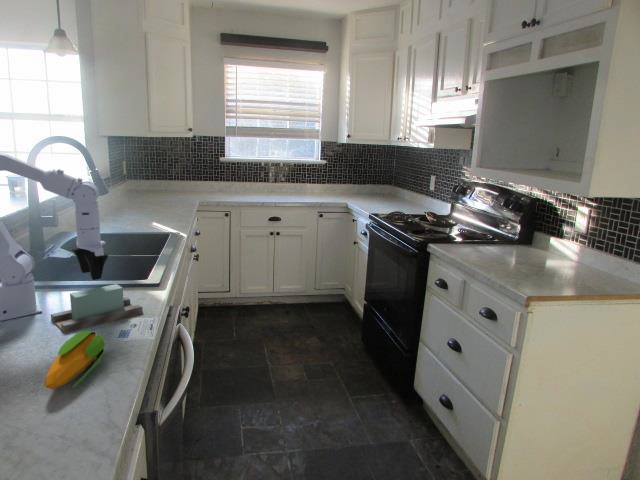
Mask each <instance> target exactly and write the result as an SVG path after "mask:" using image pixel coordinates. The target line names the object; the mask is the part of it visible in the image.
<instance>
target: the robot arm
mask: <svg viewBox="0 0 640 480" xmlns="http://www.w3.org/2000/svg"><path fill="white" fill-rule="evenodd" d="M1 171H3V172H4V171H6V172H9V173H12V174H15V175H18V176H19V177H24V178H26V179H28V180H32V181H35V182H37V183H40V185H41V186H42V188H43V189H44V191H48V192H49V193H53V194H55V195H57V196H60V197H63V198H66V199H67V200H72V202H73V203H74V204H75V205H74V206H75V211H74V213H75V214H74V215H75V216H74V217H75V226H76V227H75V228H76V230H75V231H76V239H75V241H76V247H73V248H72V252H73V253H74V255H75V256H76V258H77V262H78V265H79V267H80V268H79V269H80V270H81V272H82V274H85V273H90V276H91V279H92V281H95V280H100V279H102V276H103V272H104V267H105V264H106V261H107V259H108V258H109V254H108V253H106V252H104V248H103V246H104V245H106V241H104V240H101V225H100V224H101V221H100V211H99V204H98V203H99V202H98V201H97V200H98V198H99V196H100V190H99V187H98V186H96V184H94V183H92V182H91V181H85V180H84V179H83V178H80V177H78V178H76V177H73V176H71V175H68V174H66V173H65V171H64V170H62V169H60V168H58V169H57V170H56V169H49V170H43V169H41V168H39V167H37V166H34V165H32V164H29V163H28V162H25V161H23V160H21V159H19V158H16V157H14V156H12V155H10V154H7V153H5V152H3V151H0V172H1ZM83 180H84V181H83ZM35 265H36V264H35V259H34V257H33V256H32V255H31V254H29V253H27V252H26V251H25V250H24V248H23V246H21V245H20V244H18V243H17V242H15V240H14V238H13V236H11V234H10V232H9V231H8V228H7V227H6V226H5V224H4V223H3V221H2V219H1V218H0V321H7V320H11V319H16V318H21V317H24V316H29V315H31V316H32V315H34V314H35V315H36V314H39V313H42V312H43V310H42V309H41V307H39V306H38V305H37V296H36V289H35V288H36V287H35V279H34V278H35V277H34V275H33V273H32V270H33V271H34V268H35Z"/></svg>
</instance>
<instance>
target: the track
mask: <svg viewBox="0 0 640 480" xmlns="http://www.w3.org/2000/svg"><path fill="white" fill-rule="evenodd" d="M123 301H124V308H123V309H119V310H115V311H111V312H106V313H102V314H98V315H94V316H90V317H85V318H81V319H77V320H73V319H72V312H71V309H69V310H64V311H60V312H56V313H51V314H50V318H51V319H50V321H51V322H52V323H53V324H54V325H55V326H56V327H57V328H59V329H60V330H61V331H62V332H63V333H64V334H65V333H70V332H74V331H78V330H82V329H85V328H89V327H90V328H91V327H93V326H97V325H101V324H105V323H110V322H113V321H117V320H120V319H124V318H128V317H132V316H137V315H139V314H141V315H142V314H143V313H144V311H143V306H142V305H140V304H137V305H133V304H132V303H131V299H130V298H129V297H123Z"/></svg>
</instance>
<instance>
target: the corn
mask: <svg viewBox="0 0 640 480" xmlns="http://www.w3.org/2000/svg"><path fill="white" fill-rule="evenodd" d="M105 347H106V342H105V339H104V338H103V336H102V335H101V334H100V333H99V332H97V334H96V332H95V331H91V330H82V331H79V332H77V333H76V334H74V335H73V336H71V338H69V339H67V340H65V342H64V343H63V344H62V345H61V347H60V348H59V350H58V353H57V357H56V358H55V360H54V361H53V362H52V364H51V365H50V367H49V369H48V372H47V374H46V376H45V380H44V387H45V388H47V389H49V390H55V389H57V388H59V387H61V386H65V385H66V384H68V383H69V382H71V381H72V380H73V379H75V378H76V377H77V376H78V375H80V374H81V373H82V372H83V371H84V370H86V368H88V367H89V365H90V364H92V362H94V363H93V364H92V366H91V367H90V368H89V369H88V370H87V371H86V373H84V374H83V376H81V378H79V379H78V380H77V381H76V382H75V383H74V384H73V386H72V387H71V390H72V389H73V388H74V387H76V386H77V385H78V384H79V383H81V382H82V381H83V380H84V379H85V378H86V377H87V376H88V375H89V374H90V373H91V372H92V371H93V370H94V368H96V366H97V365H98V364H99V363H101V360H102V357H103V354H104V352H105V351H104V350H105V349H104V348H105Z"/></svg>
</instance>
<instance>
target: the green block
mask: <svg viewBox="0 0 640 480" xmlns="http://www.w3.org/2000/svg"><path fill="white" fill-rule="evenodd" d="M123 290H124V287H122V286H120V285H119V284H117V283H116V284H110V285H106V286H105V285H103V286H100V287H96V288H90V289H85V290H79V291H75V292H70V293H69V297H70V310H71V312H72V319H73V320H77V319H81V318H85V317H90V316H94V315H98V314H102V313H106V312H111V311H115V310H119V309H123V308H124V301H123V298H124V291H123Z"/></svg>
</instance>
